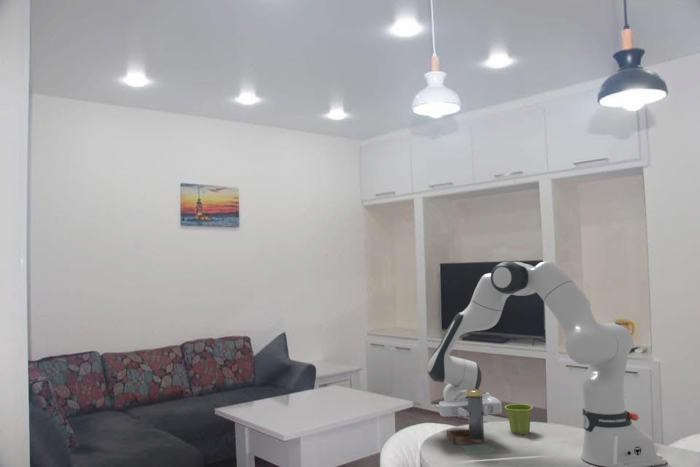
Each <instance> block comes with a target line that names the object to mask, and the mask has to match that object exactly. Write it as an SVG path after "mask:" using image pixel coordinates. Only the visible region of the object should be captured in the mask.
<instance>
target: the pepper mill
mask: <svg viewBox="0 0 700 467" xmlns="http://www.w3.org/2000/svg"><path fill="white" fill-rule="evenodd" d="M483 392H484V391H483V390H481V389H480V388H479V389H470V390H467V396H468V411H469V415H470V416H469V417H468V429H469V437H470V439H474V440H481V439H484V440H485V426H484V424H485V423H484V416H483V402H482V396H483Z"/></svg>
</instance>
